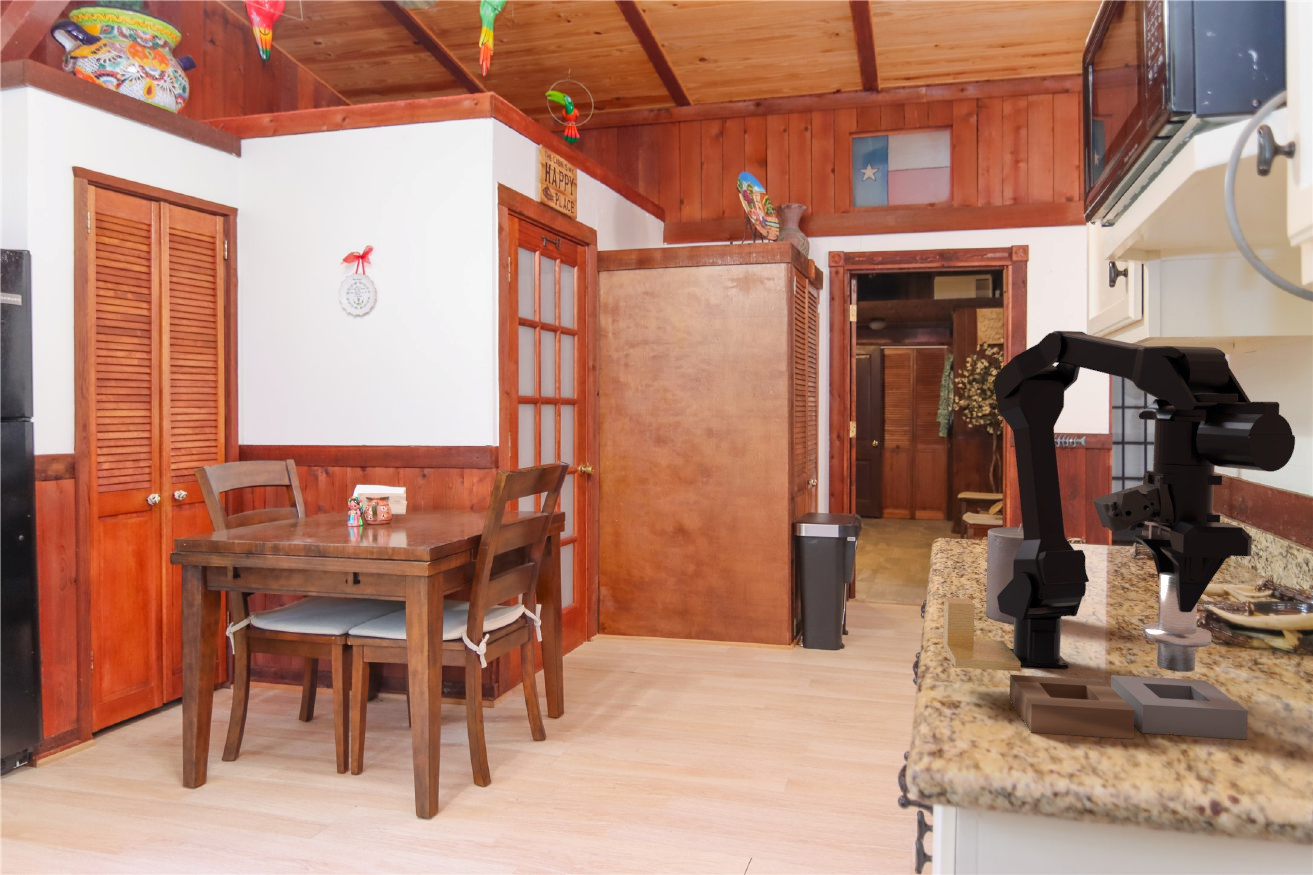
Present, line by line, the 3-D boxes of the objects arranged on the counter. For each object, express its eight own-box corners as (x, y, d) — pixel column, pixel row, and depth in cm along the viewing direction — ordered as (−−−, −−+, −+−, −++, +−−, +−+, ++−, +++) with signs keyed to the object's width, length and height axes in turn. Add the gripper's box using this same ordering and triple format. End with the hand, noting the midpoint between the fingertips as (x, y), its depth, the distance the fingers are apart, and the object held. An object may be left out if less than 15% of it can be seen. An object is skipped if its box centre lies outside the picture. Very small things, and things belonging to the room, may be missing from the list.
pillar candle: (1008, 607, 150) (1009, 517, 149) (1064, 619, 142) (1066, 524, 141) (973, 616, 144) (974, 522, 143) (1029, 629, 136) (1031, 530, 136)
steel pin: (1132, 656, 102) (1135, 568, 102) (1193, 659, 101) (1196, 570, 101) (1156, 674, 96) (1159, 580, 95) (1221, 677, 95) (1225, 582, 94)
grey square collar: (1110, 700, 104) (1111, 674, 104) (1204, 706, 103) (1205, 680, 103) (1142, 732, 95) (1143, 704, 94) (1246, 739, 93) (1247, 710, 93)
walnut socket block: (1009, 700, 104) (1010, 674, 104) (1102, 705, 103) (1102, 679, 103) (1030, 732, 94) (1031, 703, 94) (1133, 738, 93) (1134, 710, 93)
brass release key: (943, 645, 111) (944, 597, 111) (1003, 649, 110) (1004, 600, 110) (955, 667, 102) (956, 614, 102) (1020, 671, 101) (1022, 618, 101)
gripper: (1078, 456, 108) (1073, 585, 109) (1134, 469, 89) (1128, 625, 90) (1179, 458, 106) (1174, 590, 107) (1257, 471, 88) (1250, 631, 88)
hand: (1177, 607), depth 98 cm, fingers closed on steel pin, 4 cm apart
